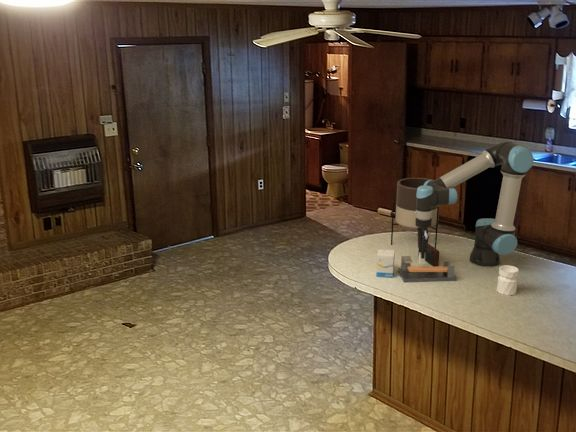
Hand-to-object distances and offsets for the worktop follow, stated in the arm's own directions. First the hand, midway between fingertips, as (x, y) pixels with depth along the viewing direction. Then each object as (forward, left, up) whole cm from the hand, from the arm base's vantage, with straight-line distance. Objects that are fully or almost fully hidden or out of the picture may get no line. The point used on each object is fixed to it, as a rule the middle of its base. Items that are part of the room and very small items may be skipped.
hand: (421, 263), depth 315 cm
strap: (-4, 0, -4) cm, 5 cm away
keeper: (+6, -6, -6) cm, 10 cm away
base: (-4, -2, -8) cm, 9 cm away
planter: (-11, -48, -8) cm, 50 cm away
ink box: (+16, -7, -8) cm, 20 cm away
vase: (-36, +19, -8) cm, 41 cm away
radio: (-10, -21, -8) cm, 24 cm away
